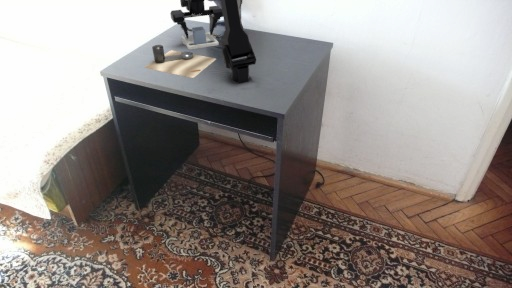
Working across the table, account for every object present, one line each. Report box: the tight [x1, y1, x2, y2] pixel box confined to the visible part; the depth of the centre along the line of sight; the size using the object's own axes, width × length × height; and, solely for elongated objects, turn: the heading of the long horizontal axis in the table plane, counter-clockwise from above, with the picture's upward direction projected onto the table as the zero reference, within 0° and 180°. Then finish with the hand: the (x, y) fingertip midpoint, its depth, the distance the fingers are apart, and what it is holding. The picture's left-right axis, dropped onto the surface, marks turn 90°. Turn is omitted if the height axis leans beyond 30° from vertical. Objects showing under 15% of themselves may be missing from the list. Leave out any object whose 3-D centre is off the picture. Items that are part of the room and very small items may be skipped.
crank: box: [151, 44, 194, 63], centre depth 122 cm, size 14×4×5 cm, turn 112°
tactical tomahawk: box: [180, 25, 224, 39], centre depth 149 cm, size 21×7×1 cm, turn 59°
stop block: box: [191, 26, 207, 45], centre depth 135 cm, size 4×4×6 cm
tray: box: [181, 31, 220, 50], centre depth 136 cm, size 12×12×2 cm
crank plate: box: [143, 49, 217, 79], centre depth 121 cm, size 19×16×2 cm
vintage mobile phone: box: [237, 0, 245, 31], centre depth 140 cm, size 4×5×25 cm
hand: (199, 36), depth 135 cm, fingers open, 9 cm apart
